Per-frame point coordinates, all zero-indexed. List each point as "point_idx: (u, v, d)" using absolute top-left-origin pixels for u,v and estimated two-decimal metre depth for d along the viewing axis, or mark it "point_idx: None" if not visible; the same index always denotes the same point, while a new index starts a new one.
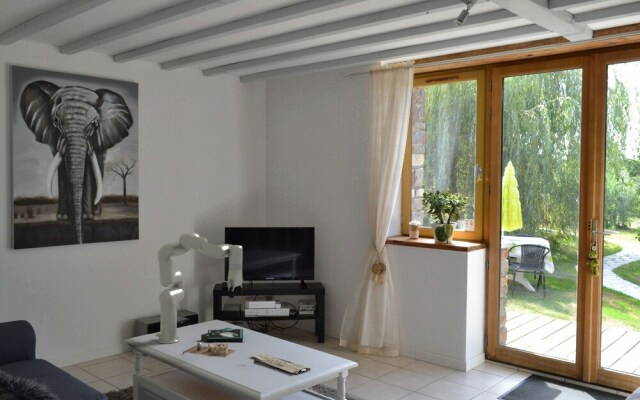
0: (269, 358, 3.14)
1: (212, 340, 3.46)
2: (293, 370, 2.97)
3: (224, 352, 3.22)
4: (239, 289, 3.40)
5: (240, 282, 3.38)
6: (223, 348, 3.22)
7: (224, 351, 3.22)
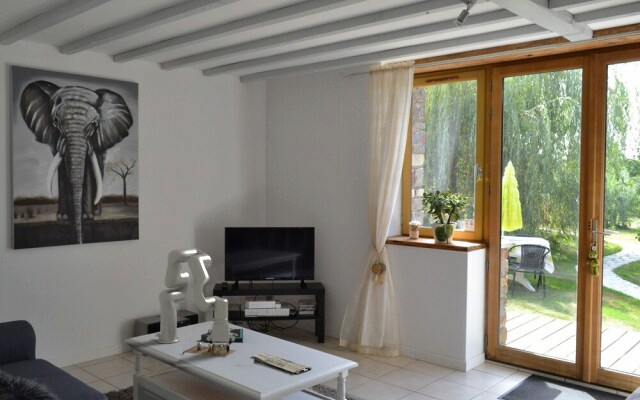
0: (270, 358, 3.15)
1: None
2: (294, 370, 2.98)
3: (224, 352, 3.22)
4: None
5: None
6: (223, 348, 3.22)
7: (224, 351, 3.22)
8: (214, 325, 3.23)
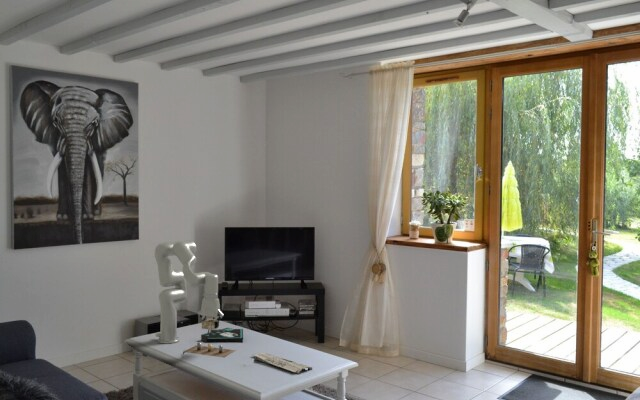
0: (271, 357, 3.16)
1: (212, 340, 3.46)
2: (295, 369, 2.98)
3: (211, 327, 3.23)
4: None
5: None
6: (210, 323, 3.23)
7: (211, 326, 3.23)
8: (203, 300, 3.26)
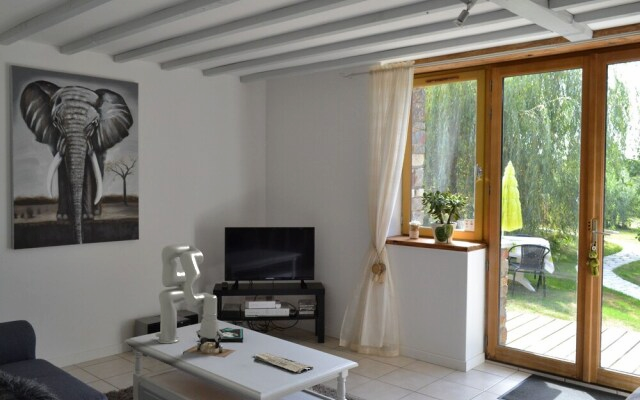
0: (272, 357, 3.16)
1: (212, 340, 3.46)
2: (296, 369, 2.99)
3: (210, 351, 3.24)
4: (203, 340, 3.30)
5: None
6: (209, 347, 3.24)
7: (210, 350, 3.24)
8: (202, 321, 3.26)
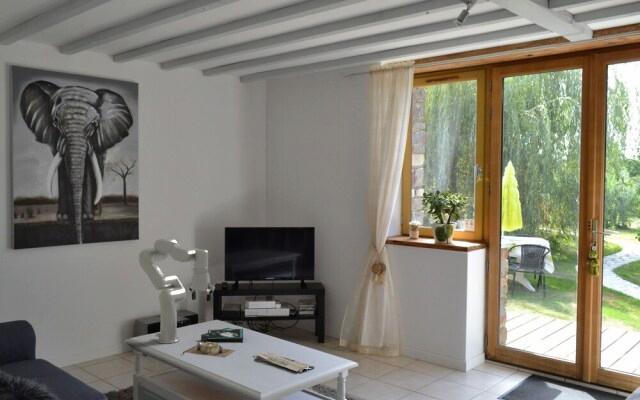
0: (273, 357, 3.17)
1: (212, 340, 3.46)
2: (297, 368, 3.00)
3: (210, 351, 3.24)
4: (194, 294, 3.39)
5: None
6: (209, 347, 3.24)
7: (210, 350, 3.24)
8: (194, 274, 3.35)
